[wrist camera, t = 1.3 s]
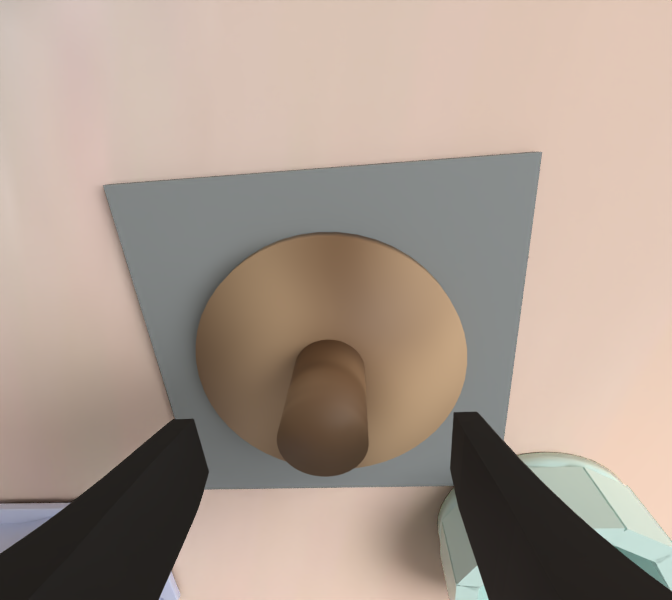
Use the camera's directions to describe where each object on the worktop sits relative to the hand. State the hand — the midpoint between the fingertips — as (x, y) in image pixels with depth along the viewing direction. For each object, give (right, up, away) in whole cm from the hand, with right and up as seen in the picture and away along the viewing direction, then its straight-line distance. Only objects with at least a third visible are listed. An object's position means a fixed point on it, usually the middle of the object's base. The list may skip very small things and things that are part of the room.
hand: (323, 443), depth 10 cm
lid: (0, +2, +4) cm, 5 cm away
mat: (0, +2, +5) cm, 5 cm away
